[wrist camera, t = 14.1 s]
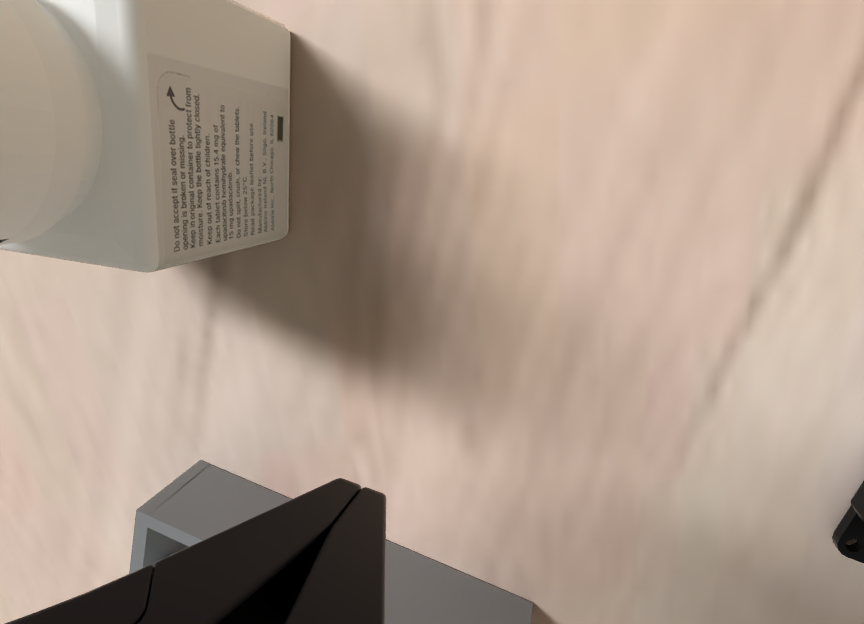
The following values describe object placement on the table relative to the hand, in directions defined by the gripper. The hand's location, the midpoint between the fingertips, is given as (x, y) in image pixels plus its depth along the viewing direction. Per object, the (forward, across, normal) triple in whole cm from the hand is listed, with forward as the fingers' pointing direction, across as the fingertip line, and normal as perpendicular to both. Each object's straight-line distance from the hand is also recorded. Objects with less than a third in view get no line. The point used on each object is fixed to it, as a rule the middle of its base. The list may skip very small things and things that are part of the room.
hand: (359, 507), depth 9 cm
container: (+13, +12, -4) cm, 18 cm away
